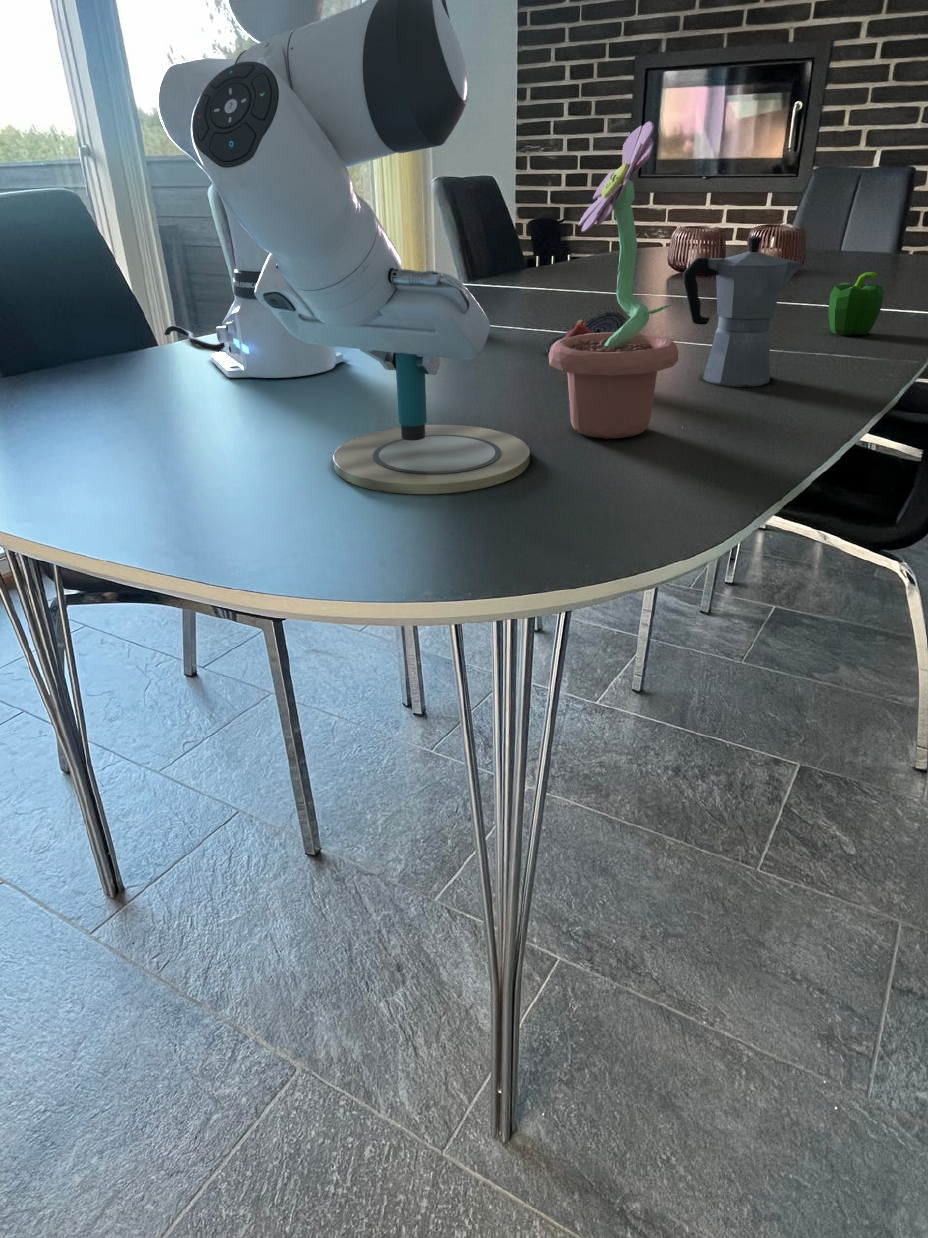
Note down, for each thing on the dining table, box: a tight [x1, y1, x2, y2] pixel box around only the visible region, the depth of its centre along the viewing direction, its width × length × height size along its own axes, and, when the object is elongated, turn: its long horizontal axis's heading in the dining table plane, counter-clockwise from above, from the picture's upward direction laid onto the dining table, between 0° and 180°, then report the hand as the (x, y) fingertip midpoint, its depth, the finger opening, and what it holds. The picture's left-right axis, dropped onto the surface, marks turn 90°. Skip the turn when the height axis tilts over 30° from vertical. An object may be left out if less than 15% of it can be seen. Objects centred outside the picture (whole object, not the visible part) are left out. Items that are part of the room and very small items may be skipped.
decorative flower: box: [548, 120, 679, 440], centre depth 88 cm, size 15×14×30 cm
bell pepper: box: [828, 271, 885, 337], centre depth 141 cm, size 8×8×10 cm
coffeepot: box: [682, 235, 803, 388], centre depth 111 cm, size 15×9×18 cm, turn 92°
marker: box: [395, 352, 428, 441], centre depth 81 cm, size 3×3×12 cm
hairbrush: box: [545, 307, 627, 357], centre depth 140 cm, size 8×4×25 cm
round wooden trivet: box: [332, 424, 531, 495], centre depth 85 cm, size 20×20×1 cm
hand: (413, 366), depth 81 cm, fingers closed on marker, 3 cm apart
